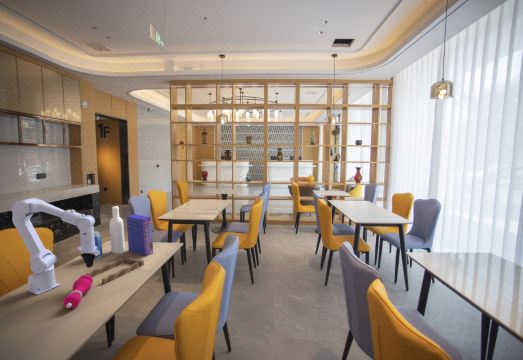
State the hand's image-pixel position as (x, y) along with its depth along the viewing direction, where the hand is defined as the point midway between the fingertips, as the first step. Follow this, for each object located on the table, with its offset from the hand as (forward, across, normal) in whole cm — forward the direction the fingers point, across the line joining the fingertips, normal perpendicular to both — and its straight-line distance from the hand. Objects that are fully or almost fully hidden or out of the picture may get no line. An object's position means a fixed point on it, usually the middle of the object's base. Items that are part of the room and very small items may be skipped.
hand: (89, 266), depth 127 cm
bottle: (+9, +25, -33) cm, 42 cm away
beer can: (+9, +29, -20) cm, 36 cm away
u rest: (+8, 0, -13) cm, 15 cm away
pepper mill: (+5, -3, +4) cm, 7 cm away
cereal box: (+9, +10, -38) cm, 40 cm away
